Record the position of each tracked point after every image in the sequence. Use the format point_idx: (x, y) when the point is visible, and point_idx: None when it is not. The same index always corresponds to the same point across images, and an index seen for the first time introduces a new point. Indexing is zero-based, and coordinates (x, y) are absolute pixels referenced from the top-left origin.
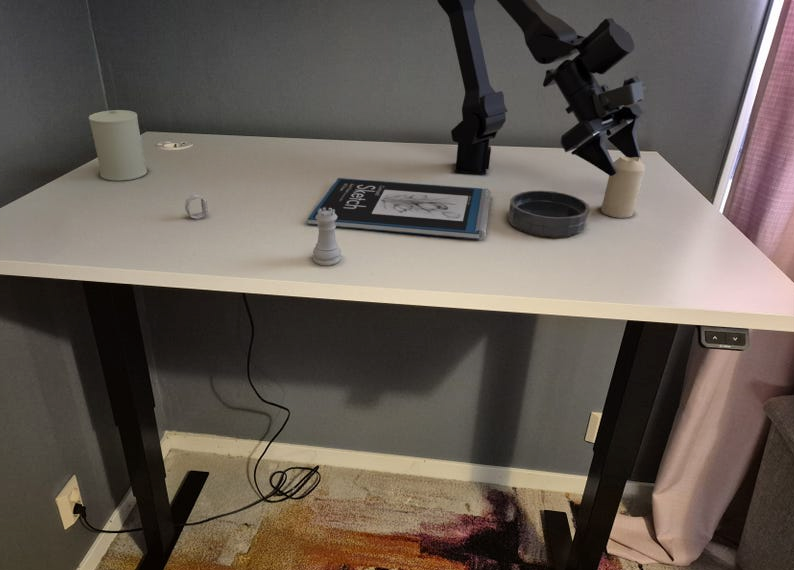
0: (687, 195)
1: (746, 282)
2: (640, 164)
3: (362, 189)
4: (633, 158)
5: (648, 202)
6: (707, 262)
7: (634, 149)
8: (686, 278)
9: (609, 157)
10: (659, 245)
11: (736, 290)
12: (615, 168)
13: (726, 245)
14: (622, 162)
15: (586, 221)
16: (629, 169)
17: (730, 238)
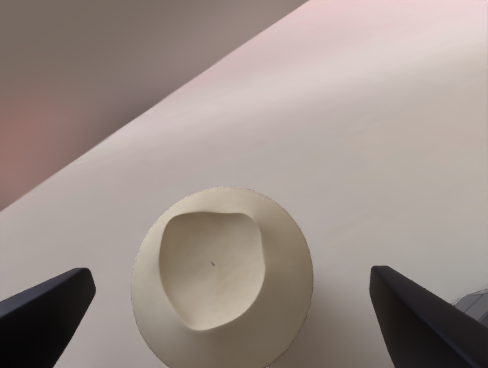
0: (9, 219)
1: (369, 6)
2: (219, 198)
3: None
4: (164, 263)
5: (110, 265)
6: (352, 54)
7: (15, 326)
8: (449, 44)
9: (470, 332)
10: (360, 126)
11: (409, 2)
12: (307, 310)
13: (253, 67)
14: (282, 280)
15: (481, 292)
16: (292, 226)
17: (216, 75)
